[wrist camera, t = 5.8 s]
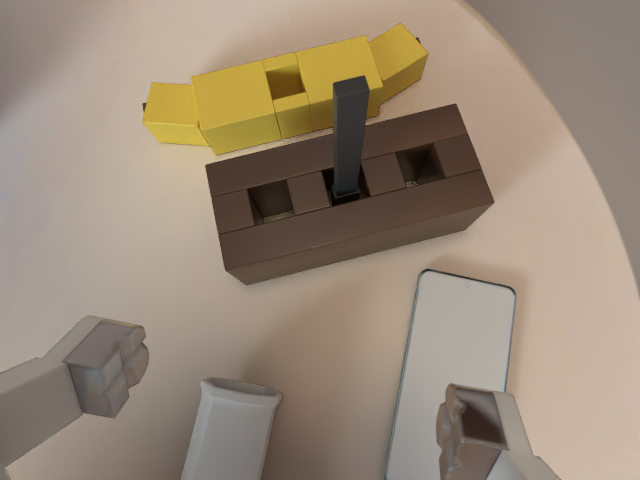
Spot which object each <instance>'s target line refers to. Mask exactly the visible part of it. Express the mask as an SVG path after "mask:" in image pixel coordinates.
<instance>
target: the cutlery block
mask: <svg viewBox="0 0 640 480" xmlns="http://www.w3.org/2000/svg"><path fill="white" fill-rule="evenodd" d="M205 167H206V172H207V178H208V183H209V188H210V194H211V197H212V204H213V209H214V215H215V220H216V225H217V230H218V234H219V241H220V246H221V251H222V257H223V262H224V267H225V271H227V272H228V273H230V274H231V275H233V276H234V277H235V278H237V279H238V280H240V281H241V282H242V283H244V284H245V285H249V284H253V283H257V282H261V281H265V280H269V279H273V278H277V277H281V276H285V275H289V274H292V273H296V272H300V271H304V270H308V269H312V268H316V267H320V266H324V265H328V264H332V263H336V262H340V261H344V260H348V259H352V258H356V257H360V256H364V255H368V254H371V253H375V252H379V251H383V250H387V249H391V248H395V247H399V246H403V245H407V244H411V243H415V242H419V241H423V240H427V239H431V238H435V237H439V236H443V235H446V234H450V233H454V232H458V231H462V230H466V229H467V228H468V227H469V226H470V225H471V224H472V223H473V222H474V221H475V220H476V219H477V218H479V217H480V216H481V215H482V214H483V213H484V212H485V211H486V210H487V209H488V208H489V207H490V206H491V205H493V204H494V200H493V197H492V194H491V192H490V189H489V187H488V184H487V182H486V179H485V176H484V174H483V171H482V170H481V166H480V163H479V161H478V158H477V155H476V153H475V150H474V148H473V145H472V143H471V140H470V137H469V135H468V133H467V130H466V127H465V125H464V122H463V120H462V117H461V115H460V112H459V109H458V107H457V104H452V105H448V106H443V107H439V108H435V109H431V110H427V111H423V112H419V113H415V114H411V115H407V116H403V117H399V118H394V119H390V120H386V121H382V122H378V123H374V124H370V125H366V126H365V131H364V139H363V147H362V155H361V163H360V171H359V178H358V186H359V190H360V196H359V200H356V201H352V202H348V203H344V204H340V205H336V206H332V207H331V203H330V200H332V199H331V186H333V185H334V139H333V134H329V135H325V136H321V137H317V138H313V139H309V140H305V141H300V142H296V143H292V144H288V145H284V146H280V147H276V148H272V149H268V150H264V151H260V152H256V153H251V154H247V155H243V156H239V157H235V158H231V159H227V160H223V161H219V162H215V163H211V164H207V165H205ZM414 179H417V182H418V185H416V186H412V187H408V188H406V184H405V182H406V181H410V180H414ZM289 210H294V214H295V216H292V217H288V218H284V219H280V220H276V221H272V222H268V223H264V219H263V217H265V216H269V215H273V214H277V213H281V212H285V211H289Z"/></svg>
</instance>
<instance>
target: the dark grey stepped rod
mask: <svg viewBox="0 0 640 480" xmlns="http://www.w3.org/2000/svg"><path fill="white" fill-rule="evenodd" d="M369 92H370V89H369V86H368V83H367V80H366V77H365V75H362V76H358V77H354V78H350V79H346V80H342V81H338V82H334V83H333V139H334V185H333V186H331V199H332V206H336V205H340V204H344V203H348V202H352V201H356V200H359V196H360V190H359V186H358V178H359V171H360V163H361V155H362V147H363V139H364V131H365V123H366V116H367V108H368V100H369Z"/></svg>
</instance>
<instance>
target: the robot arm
mask: <svg viewBox="0 0 640 480" xmlns="http://www.w3.org/2000/svg"><path fill="white" fill-rule="evenodd" d="M145 337H146V334H145V330H144V327H142V326H139V325H134V324H130V323H125V322H120V321H116V320H111V319H105V318H100V317H95V316H91V315H89V316H86V317H84V318H82V319H81V320H80V321H79V322H78V323H77V324H76V325H75V326H74V327H73V328H72V329H71V330H70V331H69V332H68V333H67V334H66V335H65V336H64V337H63V338H62V339H61V340H60V341H59V342H58V343H57V344H56V345H55V346H54V347H53V348H52V349H51V350H50V351H49V352H48V353H47V354H46V355H45V356H44V357H43V358H37V357H36V358H34V359H31V360H29V361H27V362H25V363H22V364H20V365H18V366H15V367H13V368H11V369H8V370H6V371H4V372H2V373H0V480H11V479H10V477H9V475H8V473H7V471H6V469H5V467H7V466H8V465H10V464H11V463H13V462H14V461H15V460H17V459H18V458H20V457H21V456H23V455H24V454H26V453H27V452H29V451H30V450H32V449H33V448H35V447H36V446H38V445H39V444H41V443H42V442H44V441H45V440H47V439H48V438H49V437H51V436H52V435H54V434H55V433H57V432H58V431H60V430H61V429H63V428H64V427H66V426H67V425H69V424H70V423H72V422H73V421H75V420H76V419H78V418H79V417H80V416H82V415H83V413H86V414H92V415H97V416H103V417H109V418H115V417H116V416H117V414H118V413H119V411H120V410H121V408H122V407H123V405H124V404H125V402H126V401H127V399H128V398H129V391H128V389H129V388H131V387H133V386H135V385H136V384H138V383H139V382H140V380H141V379H142V377H143V376H144V374H145V371H146V368H147V366H148V361H149V352H148V348H147V347H146V346H145V345H144V344H143V342H142V341H143V340H144V339H145ZM445 399H446V401H445V402H444V403H442V404H440V407H439V410H438V413H437V419H436V440H437V444H438V445H439V446H440V448H441V449H442V452H441V454H440V457H439V469H440V478H441V480H561V479H560V478H559V477H558V476H557V475H556V474H555V473H554V472H553V470H552V469H551V468H550V467H549V466H548V465H547V464H546V463H545V462H544V461H543V460H542V459H541V457H538V456H534V455H533V452H532V449H531V446H530V443H529V440H528V437H527V434H526V431H525V428H524V425H523V422H522V419H521V416H520V412H519V409H518V406H517V403H516V400H515V397H514V396H513V395H512V394H509V393H504V392H498V391H493V390H488V389H482V388H476V387H471V386H465V385H459V384H453V383H450V384H449V385H448V386H447V388H446V391H445Z"/></svg>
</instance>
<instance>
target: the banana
mask: <svg viewBox="0 0 640 480" xmlns="http://www.w3.org/2000/svg"><path fill="white" fill-rule="evenodd" d="M427 57H428V52H427V51H426V50H425V48H424V47H423V46H422V45H421V43H420V41H419V38H415V37H414V36H413V35H412V34H411V33H410V32H409V31H408V30H407V29H406V28H405V26H404V25H403V24H402V23H400V24H398V25H396V26H395V27H393V28H391V29H390V30H388V31H387V32H385V33H383V34H382V35H380V36H378V37H377V38H375V39H373V40H372V41H370V42H368V39H367V36H366V35H365V36H360V37H356V38H352V39H348V40H344V41H340V42H335V43H331V44H327V45H323V46H319V47H314V48H310V49H306V50H302V51H298V52H296V53H295V52H293V53H288V54H284V55H280V56H276V57H272V58H267V59H263V61H262V60H260V61H256V62H252V63H247V64H243V65H239V66H235V67H231V68H227V69H222V70H218V71H214V72H210V73H206V74H201V75H197V76H193V77H191V82H192V85H185V84H170V83H155V82H152V84H151V88H150V92H149V96H148V100H147V103H143V110H144V116H143V121H142V123H143V124H144V125H145V126H146V127H147V128H148V130H149V131H150V132H151V133H152V134H153V135H154V137H155V138H156V139H157V140H158V141H159V142H163V143H175V144H188V145H201V146H211V148H212V149H213V151H214V152H215V154H216V155H218V154H223V153H227V152H231V151H235V150H239V149H243V148H247V147H251V146H255V145H259V144H263V143H268V142H272V141H276V140H280V139H282V138H283V139H285V138H289V137H293V136H297V135H301V134H305V133H309V132H312V131H317V130H321V129H325V128H329V127H333V83H334V82H338V81H342V80H346V79H350V78H354V77H358V76H362V75H365V77H366V80H367V83H368V86H369V89H370V92H369V100H368V108H367V116H366V118H370V117H374V116H378V113H379V108H380V104H382V103H383V102H385V101H386V100H388V99H389V98H391V97H393V96H394V95H396V94H397V93H399V92H401V91H402V90H404V89H405V88H407V87H409V86H410V85H412V84H413V83H415V82H416V81H418V80H420V79H421V76H422V73H423V70H424V66H425V63H426V60H427Z"/></svg>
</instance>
